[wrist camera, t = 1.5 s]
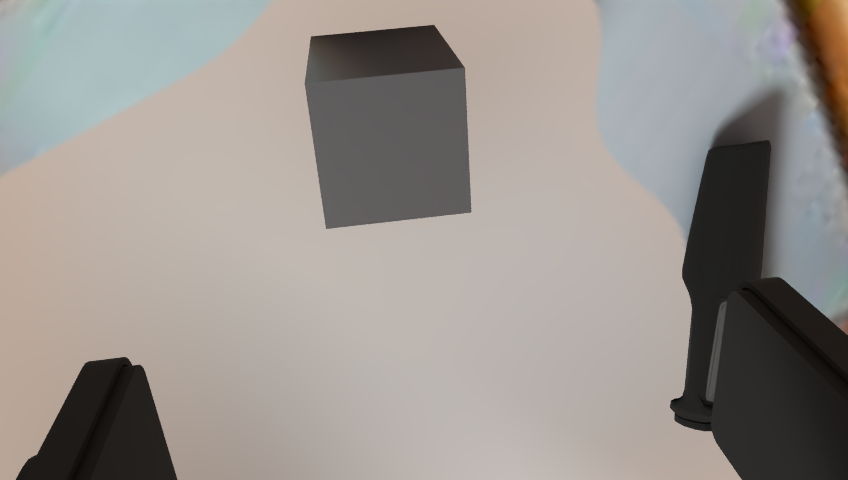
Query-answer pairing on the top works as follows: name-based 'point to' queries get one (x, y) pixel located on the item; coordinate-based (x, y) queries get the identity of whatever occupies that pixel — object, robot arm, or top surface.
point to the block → (388, 126)
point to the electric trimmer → (720, 263)
